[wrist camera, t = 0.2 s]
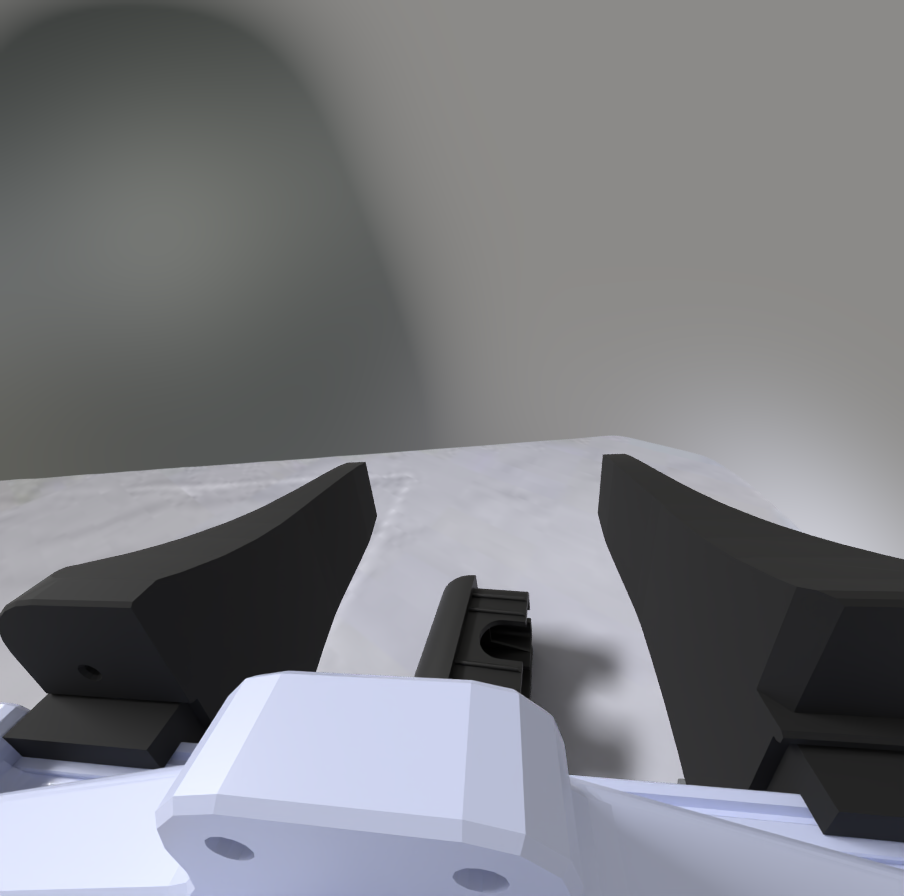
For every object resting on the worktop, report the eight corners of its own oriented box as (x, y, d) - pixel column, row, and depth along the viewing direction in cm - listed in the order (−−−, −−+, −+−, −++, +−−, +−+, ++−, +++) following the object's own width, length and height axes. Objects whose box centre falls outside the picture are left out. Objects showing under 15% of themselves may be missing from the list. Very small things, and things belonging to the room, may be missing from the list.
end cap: (450, 631, 32) (438, 571, 30) (533, 640, 31) (528, 576, 28) (412, 765, 24) (389, 695, 21) (525, 789, 22) (516, 716, 19)
